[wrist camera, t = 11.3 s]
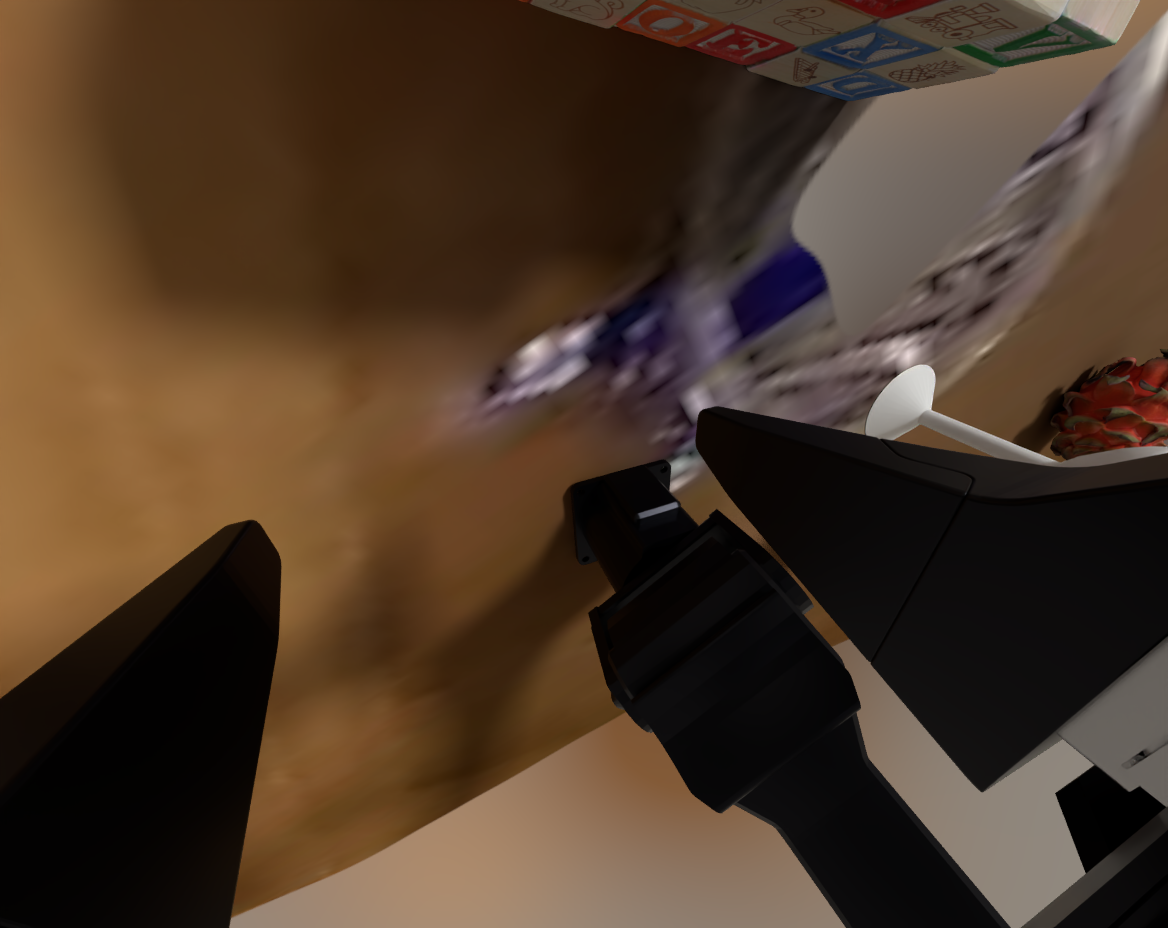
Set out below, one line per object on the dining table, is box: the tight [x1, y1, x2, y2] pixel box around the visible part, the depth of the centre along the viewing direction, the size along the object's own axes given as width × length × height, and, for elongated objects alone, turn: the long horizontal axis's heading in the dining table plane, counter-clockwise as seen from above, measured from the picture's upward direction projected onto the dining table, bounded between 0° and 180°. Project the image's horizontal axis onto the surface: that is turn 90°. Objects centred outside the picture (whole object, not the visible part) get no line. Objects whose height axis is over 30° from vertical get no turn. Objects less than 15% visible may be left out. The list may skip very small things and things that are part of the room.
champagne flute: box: [865, 365, 1168, 467], centre depth 24 cm, size 7×7×24 cm
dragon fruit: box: [1050, 349, 1168, 460], centre depth 40 cm, size 8×8×12 cm
